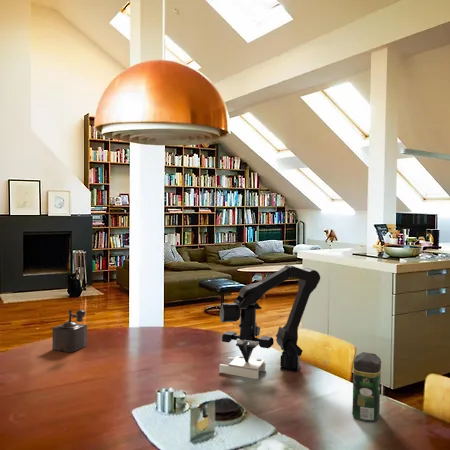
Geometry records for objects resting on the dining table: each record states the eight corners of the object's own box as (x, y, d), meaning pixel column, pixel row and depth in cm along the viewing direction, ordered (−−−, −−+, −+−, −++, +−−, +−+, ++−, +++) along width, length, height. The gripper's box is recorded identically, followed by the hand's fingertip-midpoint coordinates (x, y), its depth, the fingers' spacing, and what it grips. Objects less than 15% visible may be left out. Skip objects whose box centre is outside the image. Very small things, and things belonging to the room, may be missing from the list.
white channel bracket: (265, 370, 181) (265, 361, 181) (257, 379, 172) (257, 369, 172) (228, 364, 187) (228, 356, 186) (219, 372, 178) (219, 363, 178)
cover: (264, 361, 181) (264, 359, 181) (257, 370, 173) (257, 367, 173) (237, 357, 185) (237, 355, 185) (228, 365, 177) (228, 363, 177)
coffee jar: (354, 406, 151) (356, 348, 150) (380, 411, 148) (382, 352, 147) (349, 419, 142) (351, 358, 141) (377, 424, 139) (380, 362, 138)
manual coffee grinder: (50, 350, 200) (50, 307, 199) (67, 342, 210) (67, 302, 209) (81, 355, 194) (81, 311, 193) (97, 347, 205) (97, 305, 203)
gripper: (278, 318, 182) (277, 359, 183) (232, 313, 189) (231, 351, 190) (269, 325, 172) (268, 368, 173) (221, 319, 179) (220, 360, 180)
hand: (246, 361), depth 179 cm, fingers closed, pressing on cover
